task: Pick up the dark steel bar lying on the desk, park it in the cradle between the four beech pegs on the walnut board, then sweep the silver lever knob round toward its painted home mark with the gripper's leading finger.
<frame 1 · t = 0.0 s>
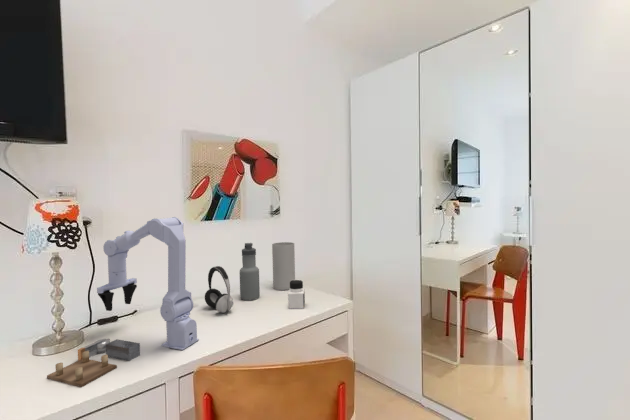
hand: (118, 307, 116), 10 cm above the table, fingers open, 7 cm apart
silver lever knob: (94, 348, 100), point 2 cm above the table, hinge at 0.0°
water bottle: (250, 298, 157), on the table
cylinder vase: (284, 287, 175), on the table
walnut board: (83, 374, 89), on the table
steel bar: (123, 357, 98), on the table
medicine bottle: (296, 306, 143), on the table
headphones: (219, 310, 140), on the table
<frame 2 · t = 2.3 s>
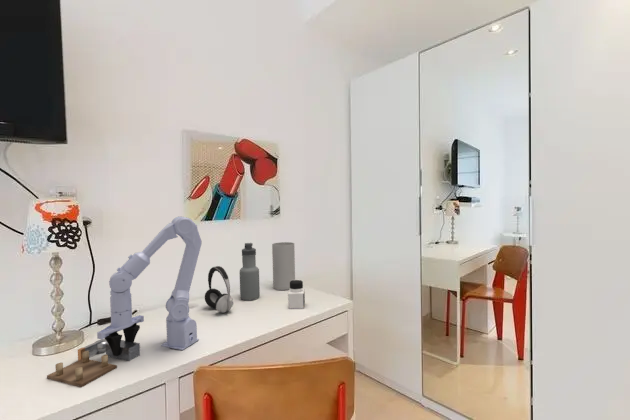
hand: (123, 351, 98), 2 cm above the table, fingers closed on steel bar, 4 cm apart
steel bar: (123, 357, 98), on the table, touching gripper
everything else where it was.
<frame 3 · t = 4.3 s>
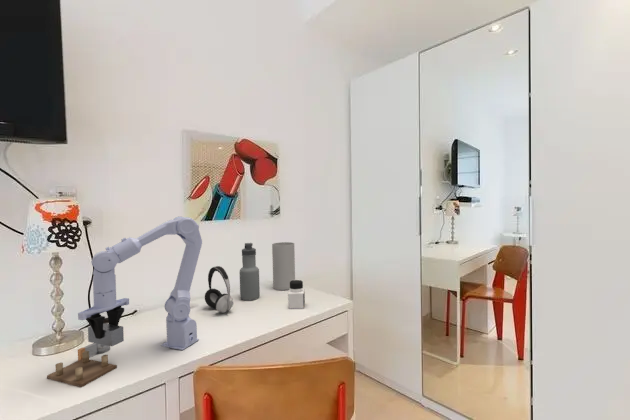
hand: (106, 335, 94), 9 cm above the table, fingers closed on steel bar, 4 cm apart
steel bar: (106, 341, 94), point 7 cm above the table, touching gripper
everything else where it was.
when the fingers open (4 cm above the table, at t = 5.9 s): steel bar stays where it is, resting on walnut board.
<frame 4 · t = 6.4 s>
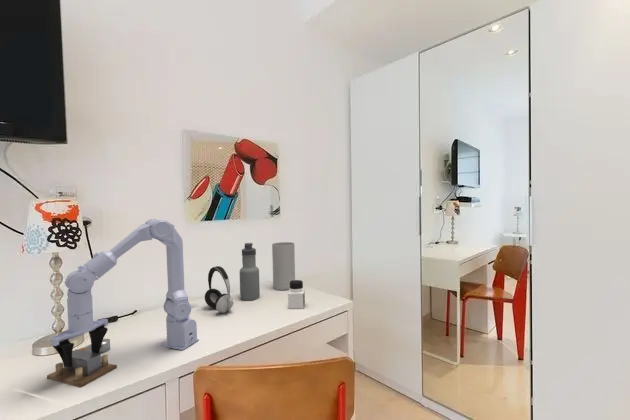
hand: (82, 359, 89), 4 cm above the table, fingers open, 7 cm apart
steel bar: (82, 370, 89), point 1 cm above the table, touching walnut board
everything else where it was.
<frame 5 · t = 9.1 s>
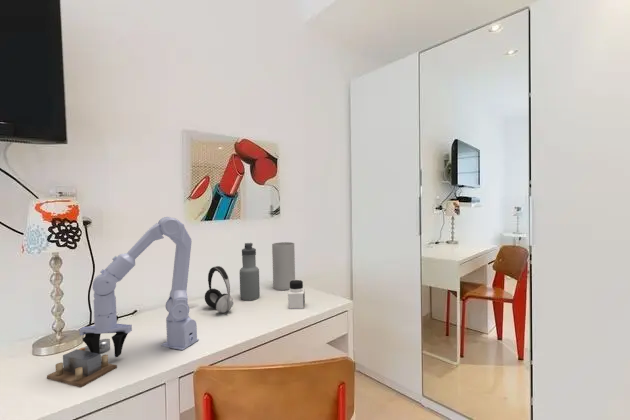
hand: (107, 356, 96), 2 cm above the table, fingers open, 6 cm apart
nothing on the table moved.
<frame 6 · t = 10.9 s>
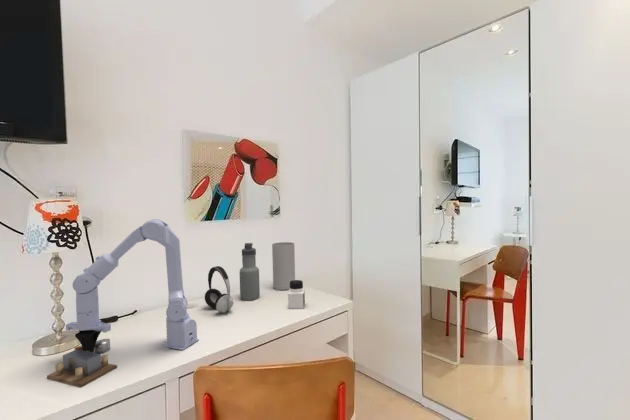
hand: (89, 352, 98), 2 cm above the table, fingers closed
silver lever knob: (93, 347, 100), point 2 cm above the table, hinge at 22.9°, touching gripper
everything else where it was.
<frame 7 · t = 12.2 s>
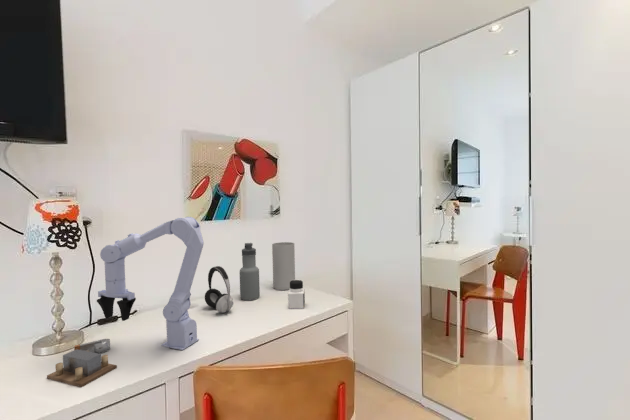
hand: (117, 318, 106), 10 cm above the table, fingers open, 7 cm apart
silver lever knob: (92, 347, 101), point 2 cm above the table, hinge at 35.1°
everything else where it was.
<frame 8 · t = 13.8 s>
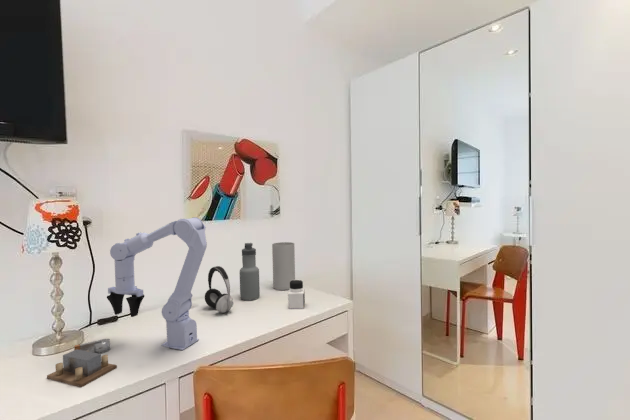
hand: (126, 314, 108), 10 cm above the table, fingers open, 7 cm apart
silver lever knob: (92, 347, 101), point 2 cm above the table, hinge at 35.6°
everything else where it was.
at the end: steel bar 0.2 cm from the target spot, point 1.2 cm above the table; silver lever knob at +36° (first picture: +0°); the gripper is holding nothing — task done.
